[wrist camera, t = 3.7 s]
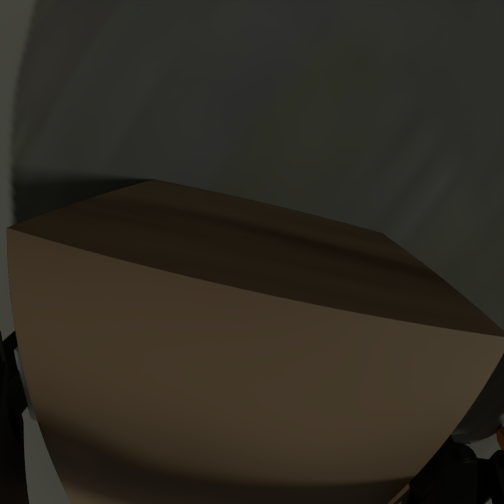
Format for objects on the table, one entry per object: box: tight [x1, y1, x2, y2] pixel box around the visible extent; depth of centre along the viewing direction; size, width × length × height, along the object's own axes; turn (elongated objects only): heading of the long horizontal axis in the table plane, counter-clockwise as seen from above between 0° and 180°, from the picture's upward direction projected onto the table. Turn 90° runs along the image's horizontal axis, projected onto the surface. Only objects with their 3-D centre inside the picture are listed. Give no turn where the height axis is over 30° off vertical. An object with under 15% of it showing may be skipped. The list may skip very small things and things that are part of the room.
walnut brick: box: [7, 179, 504, 504], centre depth 9 cm, size 10×9×8 cm
